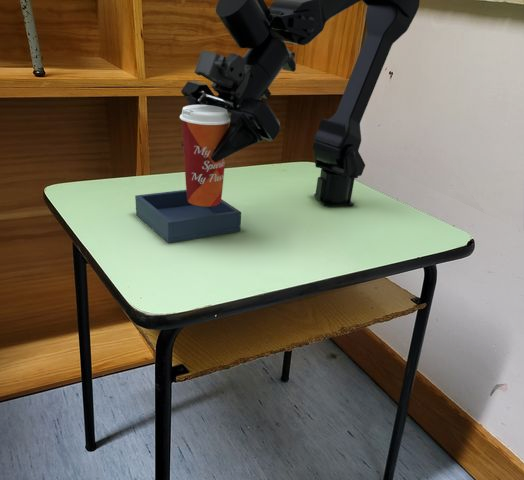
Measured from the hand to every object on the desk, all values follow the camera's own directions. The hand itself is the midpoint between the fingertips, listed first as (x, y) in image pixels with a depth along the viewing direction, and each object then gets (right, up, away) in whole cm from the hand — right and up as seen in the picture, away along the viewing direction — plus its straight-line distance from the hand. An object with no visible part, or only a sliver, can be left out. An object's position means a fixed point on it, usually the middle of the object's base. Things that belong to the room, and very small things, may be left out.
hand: (197, 153), depth 83 cm
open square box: (-3, -8, +11) cm, 14 cm away
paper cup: (0, -6, +5) cm, 8 cm away
